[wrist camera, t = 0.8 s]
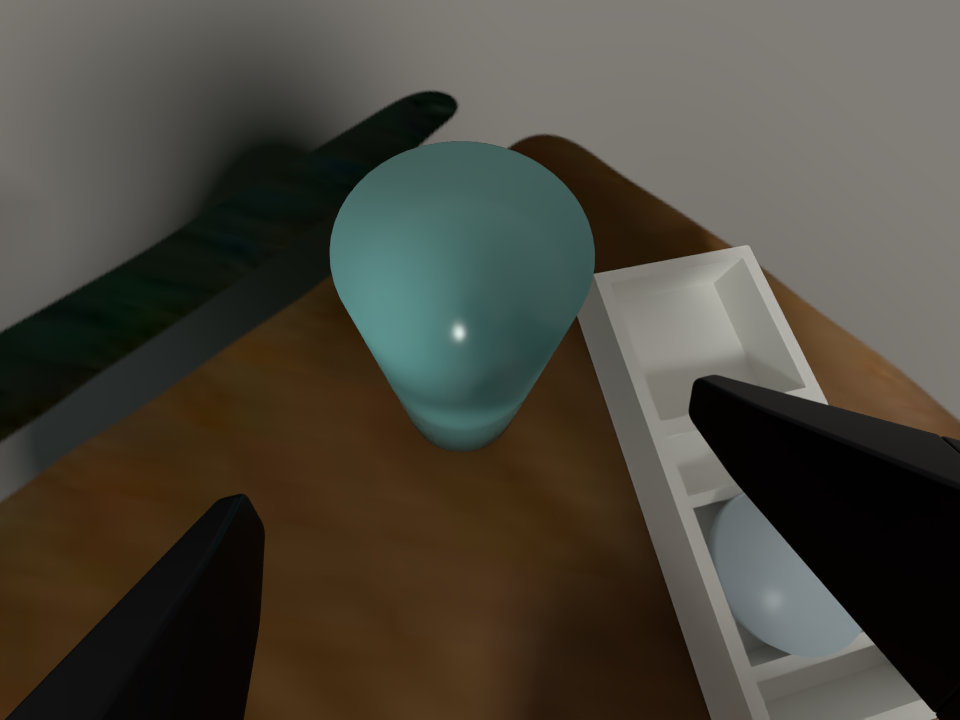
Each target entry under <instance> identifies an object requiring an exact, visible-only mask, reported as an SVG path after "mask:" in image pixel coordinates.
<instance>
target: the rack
mask: <svg viewBox="0 0 960 720" xmlns="http://www.w3.org/2000/svg"><path fill="white" fill-rule="evenodd" d="M577 317H578V320H579V323H580V326H581V329H582V332H583V335H584V338H585V341H586V344H587V347H588V350H589V353H590V356H591V359H592V362H593V365H594V368H595V371H596V374H597V377H598V380H599V383H600V386H601V389H602V392H603V395H604V398H605V401H606V404H607V407H608V410H609V413H610V416H611V419H612V422H613V425H614V428H615V431H616V434H617V437H618V440H619V443H620V446H621V449H622V452H623V455H624V458H625V461H626V464H627V467H628V471H629V474H630V477H631V480H632V483H633V486H634V489H635V492H636V495H637V498H638V501H639V504H640V507H641V510H642V513H643V516H644V519H645V522H646V525H647V528H648V531H649V534H650V537H651V540H652V543H653V546H654V549H655V552H656V555H657V558H658V561H659V564H660V567H661V570H662V573H663V576H664V579H665V582H666V585H667V588H668V591H669V594H670V597H671V600H672V603H673V606H674V609H675V612H676V615H677V618H678V621H679V624H680V627H681V630H682V633H683V636H684V639H685V642H686V645H687V648H688V651H689V654H690V657H691V660H692V663H693V666H694V669H695V672H696V675H697V678H698V681H699V684H700V687H701V690H702V693H703V696H704V699H705V702H706V705H707V708H708V711H709V714H710V717H711V720H932V719H934V718H937V716H936V712H933V711H932V710H931V709H930V708H929V707H928V706H927V704H926V703H925V702H924V701H923V700H922V699H921V697H920V696H919V695H918V694H917V693H916V692H915V690H914V689H913V688H912V687H911V686H910V685H909V684H908V682H907V681H906V680H905V679H904V678H903V677H902V675H901V674H900V673H899V672H898V671H897V670H896V668H895V667H894V666H893V665H892V664H891V663H890V661H889V660H888V659H887V658H886V657H885V656H884V655H883V653H882V652H881V651H880V650H879V649H878V648H877V646H876V645H875V644H874V643H873V642H872V641H871V639H870V638H869V637H868V636H867V635H866V634H865V632H864V631H863V630H862V629H861V628H860V627H859V625H858V624H857V623H856V622H855V621H854V620H853V619H852V617H851V616H850V615H849V614H848V613H847V612H846V610H845V609H844V608H843V607H842V606H841V605H840V603H839V602H838V601H837V600H836V599H835V598H834V596H833V595H832V594H831V593H830V592H829V591H828V590H827V588H826V587H825V586H824V585H823V584H822V583H821V581H820V580H819V579H818V578H817V577H816V576H815V574H814V573H813V572H812V571H811V570H810V569H809V567H808V566H807V565H806V564H805V563H804V562H803V560H802V559H801V558H800V557H799V556H798V555H797V554H796V552H795V551H794V550H793V549H792V548H791V547H790V545H789V544H788V543H787V542H786V541H785V540H784V538H783V537H782V536H781V535H780V534H779V533H778V531H777V530H776V529H775V528H774V527H773V526H772V525H771V523H770V522H769V521H768V520H767V519H766V518H765V516H764V515H763V514H762V513H761V512H760V511H759V509H758V508H757V507H756V506H755V505H754V504H753V502H752V501H751V500H750V499H749V498H748V497H747V495H746V494H745V493H744V492H743V491H742V490H741V488H740V487H739V486H738V485H737V484H736V482H735V481H734V480H733V479H732V477H731V476H730V475H729V473H728V472H727V471H726V469H725V468H724V466H723V465H722V464H721V462H720V461H719V459H718V458H717V457H716V455H715V454H714V452H713V451H712V449H711V448H710V447H709V445H708V444H707V442H706V441H705V440H704V438H703V437H702V435H701V434H700V432H699V431H698V430H697V428H696V427H695V425H694V424H693V423H692V421H691V419H690V416H689V411H688V409H689V403H690V397H691V391H692V385H693V383H694V381H695V380H696V379H697V378H700V377H704V376H708V375H720V376H723V377H727V378H731V379H734V380H738V381H742V382H745V383H749V384H753V385H756V386H760V387H764V388H767V389H771V390H775V391H779V392H782V393H786V394H790V395H793V396H797V397H801V398H804V399H808V400H812V401H815V402H819V403H823V404H826V405H828V403H827V401H826V399H825V397H824V395H823V393H822V391H821V389H820V387H819V385H818V383H817V381H816V379H815V377H814V375H813V373H812V371H811V369H810V367H809V365H808V363H807V361H806V359H805V357H804V355H803V353H802V351H801V349H800V347H799V345H798V343H797V341H796V339H795V337H794V335H793V333H792V331H791V329H790V327H789V325H788V323H787V321H786V319H785V317H784V315H783V313H782V311H781V309H780V307H779V305H778V303H777V301H776V299H775V297H774V295H773V293H772V291H771V289H770V287H769V285H768V283H767V281H766V279H765V277H764V275H763V273H762V271H761V269H760V267H759V265H758V263H757V261H756V259H755V257H754V255H753V253H752V251H751V249H750V247H749V245H745V246H740V247H734V248H729V249H724V250H719V251H713V252H708V253H703V254H697V255H692V256H687V257H681V258H676V259H671V260H665V261H660V262H655V263H649V264H644V265H639V266H634V267H628V268H623V269H618V270H612V271H607V272H602V273H596V274H593V280H592V283H591V286H590V289H589V292H588V295H587V297H586V299H585V301H584V303H583V305H582V307H581V309H580V311H579V313H578V314H577Z"/></svg>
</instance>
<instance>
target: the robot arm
mask: <svg viewBox="0 0 960 720" xmlns="http://www.w3.org/2000/svg"><path fill="white" fill-rule="evenodd" d="M688 411H689V416H690V419H691V421H692V423H693V424H694V425H695V427H696V428H697V430H698V431H699V432H700V434H701V435H702V437H703V438H704V440H705V441H706V442H707V444H708V445H709V447H710V448H711V449H712V451H713V452H714V454H715V455H716V457H717V458H718V459H719V461H720V462H721V464H722V465H723V466H724V468H725V469H726V471H727V472H728V473H729V475H730V476H731V477H732V479H733V480H734V481H735V482H736V484H737V485H738V486H739V487H740V488H741V490H742V491H743V492H744V493H745V494H746V495H747V497H748V498H749V499H750V500H751V501H752V502H753V504H754V505H755V506H756V507H757V508H758V509H759V511H760V512H761V513H762V514H763V515H764V516H765V518H766V519H767V520H768V521H769V522H770V523H771V525H772V526H773V527H774V528H775V529H776V530H777V531H778V533H779V534H780V535H781V536H782V537H783V538H784V540H785V541H786V542H787V543H788V544H789V545H790V547H791V548H792V549H793V550H794V551H795V552H796V554H797V555H798V556H799V557H800V558H801V559H802V560H803V562H804V563H805V564H806V565H807V566H808V567H809V569H810V570H811V571H812V572H813V573H814V574H815V576H816V577H817V578H818V579H819V580H820V581H821V583H822V584H823V585H824V586H825V587H826V588H827V590H828V591H829V592H830V593H831V594H832V595H833V596H834V598H835V599H836V600H837V601H838V602H839V603H840V605H841V606H842V607H843V608H844V609H845V610H846V612H847V613H848V614H849V615H850V616H851V617H852V619H853V620H854V621H855V622H856V623H857V624H858V625H859V627H860V628H861V629H862V630H863V631H864V632H865V634H866V635H867V636H868V637H869V638H870V639H871V641H872V642H873V643H874V644H875V645H876V646H877V648H878V649H879V650H880V651H881V652H882V653H883V655H884V656H885V657H886V658H887V659H888V660H889V661H890V663H891V664H892V665H893V666H894V667H895V668H896V670H897V671H898V672H899V673H900V674H901V675H902V677H903V678H904V679H905V680H906V681H907V682H908V684H909V685H910V686H911V687H912V688H913V689H914V690H915V692H916V693H917V694H918V695H919V696H920V697H921V699H922V700H923V701H924V702H925V703H926V704H927V706H928V707H929V708H930V709H931V710H932V711H933V712H936V716H937V718H938V719H939V720H960V441H959V440H956V439H952V438H948V437H944V436H943V437H940V436H938V435H937V434H933V433H930V432H926V431H922V430H919V429H915V428H911V427H908V426H904V425H900V424H896V423H893V422H889V421H885V420H882V419H878V418H874V417H871V416H867V415H863V414H860V413H856V412H852V411H849V410H845V409H841V408H837V407H834V406H830V405H826V404H823V403H819V402H815V401H812V400H808V399H804V398H801V397H797V396H793V395H790V394H786V393H782V392H779V391H775V390H771V389H767V388H764V387H760V386H756V385H753V384H749V383H745V382H742V381H738V380H734V379H731V378H727V377H723V376H720V375H708V376H704V377H700V378H697V379H696V380H695V381H694V383H693V385H692V391H691V397H690V403H689V409H688ZM264 543H265V531H264V526H263V523H262V521H261V519H260V518H259V516H258V514H257V512H256V510H255V509H254V507H253V505H252V503H251V501H250V500H249V498H248V497H247V496H246V495H245V494H237V495H233V496H229V497H225V498H222V499H219V500H218V501H216V502H215V503H214V504H213V505H212V506H211V507H210V508H209V509H208V510H207V511H206V512H205V514H204V515H203V516H202V517H201V518H200V519H199V520H198V521H197V522H196V523H195V524H194V525H193V526H192V527H191V528H190V529H189V530H188V531H187V532H186V533H185V534H184V535H183V536H182V537H181V538H180V539H179V540H178V541H177V542H176V543H175V544H174V546H173V547H172V548H171V549H170V550H169V551H168V552H167V553H166V554H165V555H164V556H163V557H162V558H161V559H160V560H159V561H158V562H157V563H156V564H155V565H154V566H153V567H152V568H151V569H150V570H149V571H148V572H147V573H146V574H145V575H144V576H143V577H142V579H141V580H140V581H139V582H138V583H137V584H136V585H135V586H134V587H133V588H132V589H131V590H130V591H129V592H128V593H127V594H126V595H125V596H124V597H123V598H122V599H121V600H120V601H119V602H118V603H117V604H116V605H115V606H114V607H113V608H112V609H111V610H110V612H109V613H108V614H107V615H106V616H105V617H104V618H103V619H102V620H101V621H100V622H99V623H98V624H97V625H96V626H95V627H94V628H93V629H92V630H91V631H90V632H89V633H88V634H87V635H86V636H85V637H84V638H83V639H82V640H81V641H80V642H79V643H78V645H77V646H76V647H75V648H74V649H73V650H72V651H71V652H70V653H69V654H68V655H67V656H66V657H65V658H64V659H63V660H62V661H61V662H60V663H59V664H58V665H57V666H56V667H55V668H54V669H53V670H52V671H51V672H50V673H49V674H48V675H47V676H46V677H45V678H44V680H43V681H42V682H41V683H40V684H39V685H38V686H37V687H36V688H35V689H34V690H33V691H32V692H31V693H30V694H29V695H28V696H27V697H26V698H25V699H24V700H23V701H22V702H21V703H20V704H19V705H18V706H17V707H16V708H15V709H14V710H13V711H12V712H11V714H10V715H9V716H8V717H7V718H6V719H5V720H244V714H245V708H246V702H247V697H248V691H249V685H250V679H251V673H252V667H253V661H254V655H255V649H256V643H257V637H258V630H259V623H260V613H261V597H262V579H263V561H264Z"/></svg>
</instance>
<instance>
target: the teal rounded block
mask: <svg viewBox="0 0 960 720" xmlns="http://www.w3.org/2000/svg"><path fill="white" fill-rule="evenodd" d="M330 266H331V271H332V276H333V281H334V284H335V287H336V289H337V292H338V294H339V297H340V299H341V301H342V302H343V304H344V306H345V308H346V309H347V311H348V313H349V315H350V316H351V318H352V320H353V321H354V323H355V325H356V327H357V328H358V330H359V332H360V333H361V335H362V337H363V339H364V340H365V342H366V344H367V345H368V347H369V349H370V351H371V352H372V354H373V356H374V358H375V359H376V361H377V363H378V364H379V366H380V368H381V370H382V371H383V373H384V375H385V376H386V378H387V380H388V382H389V383H390V385H391V387H392V388H393V390H394V392H395V394H396V395H397V397H398V399H399V400H400V402H401V404H402V406H403V407H404V409H405V411H406V413H407V414H408V416H409V418H410V419H411V421H412V423H413V425H414V426H415V428H416V429H417V430H418V432H419V433H420V434H421V435H422V436H423V437H424V438H425V439H426V440H428V441H429V442H430V443H432V444H434V445H436V446H437V447H440V448H442V449H445V450H450V451H456V452H467V451H474V450H477V449H480V448H483V447H485V446H487V445H489V444H491V443H492V442H494V441H495V440H496V439H498V438H499V437H500V436H501V435H502V434H503V433H504V432H505V430H506V429H507V428H508V426H509V425H510V423H511V421H512V420H513V418H514V417H515V415H516V413H517V412H518V410H519V408H520V407H521V405H522V404H523V402H524V400H525V399H526V397H527V395H528V394H529V392H530V391H531V389H532V387H533V386H534V384H535V382H536V381H537V379H538V378H539V376H540V374H541V373H542V371H543V369H544V368H545V366H546V365H547V363H548V361H549V360H550V358H551V356H552V355H553V353H554V352H555V350H556V348H557V347H558V345H559V343H560V342H561V340H562V339H563V337H564V335H565V334H566V332H567V330H568V329H569V327H570V326H571V324H572V322H573V321H574V319H575V317H576V316H577V314H578V313H579V311H580V309H581V307H582V305H583V303H584V301H585V299H586V297H587V295H588V292H589V289H590V286H591V283H592V280H593V273H594V267H595V248H594V241H593V235H592V232H591V228H590V225H589V222H588V220H587V217H586V215H585V213H584V211H583V209H582V207H581V206H580V204H579V202H578V201H577V199H576V197H575V196H574V195H573V194H572V192H571V191H570V190H569V189H568V188H567V186H566V185H565V184H564V183H563V182H562V181H561V180H560V179H559V178H558V177H557V176H555V175H554V174H553V173H552V172H550V171H549V170H548V169H546V168H545V167H544V166H542V165H541V164H539V163H537V162H536V161H534V160H532V159H531V158H529V157H526V156H524V155H522V154H520V153H518V152H515V151H512V150H509V149H506V148H503V147H500V146H495V145H491V144H486V143H478V142H467V141H462V142H461V141H452V142H442V143H435V144H430V145H425V146H421V147H418V148H414V149H411V150H408V151H406V152H403V153H401V154H399V155H397V156H394V157H392V158H391V159H389V160H387V161H385V162H384V163H382V164H380V165H379V166H378V167H376V168H375V169H374V170H372V171H371V172H370V173H368V174H367V175H366V176H365V177H364V178H363V179H362V180H361V181H360V182H359V183H358V184H357V185H356V186H355V188H354V189H353V190H352V192H351V193H350V194H349V195H348V197H347V198H346V200H345V202H344V203H343V205H342V207H341V209H340V211H339V213H338V216H337V218H336V221H335V224H334V227H333V232H332V235H331V243H330Z"/></svg>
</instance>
